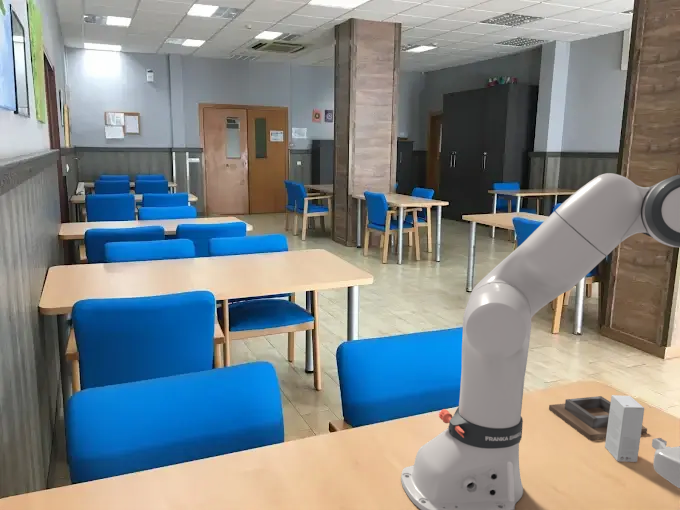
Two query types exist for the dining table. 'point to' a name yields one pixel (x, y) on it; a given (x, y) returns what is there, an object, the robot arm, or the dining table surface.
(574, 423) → the collar stand
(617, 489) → the dining table surface
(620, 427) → the skincare box
